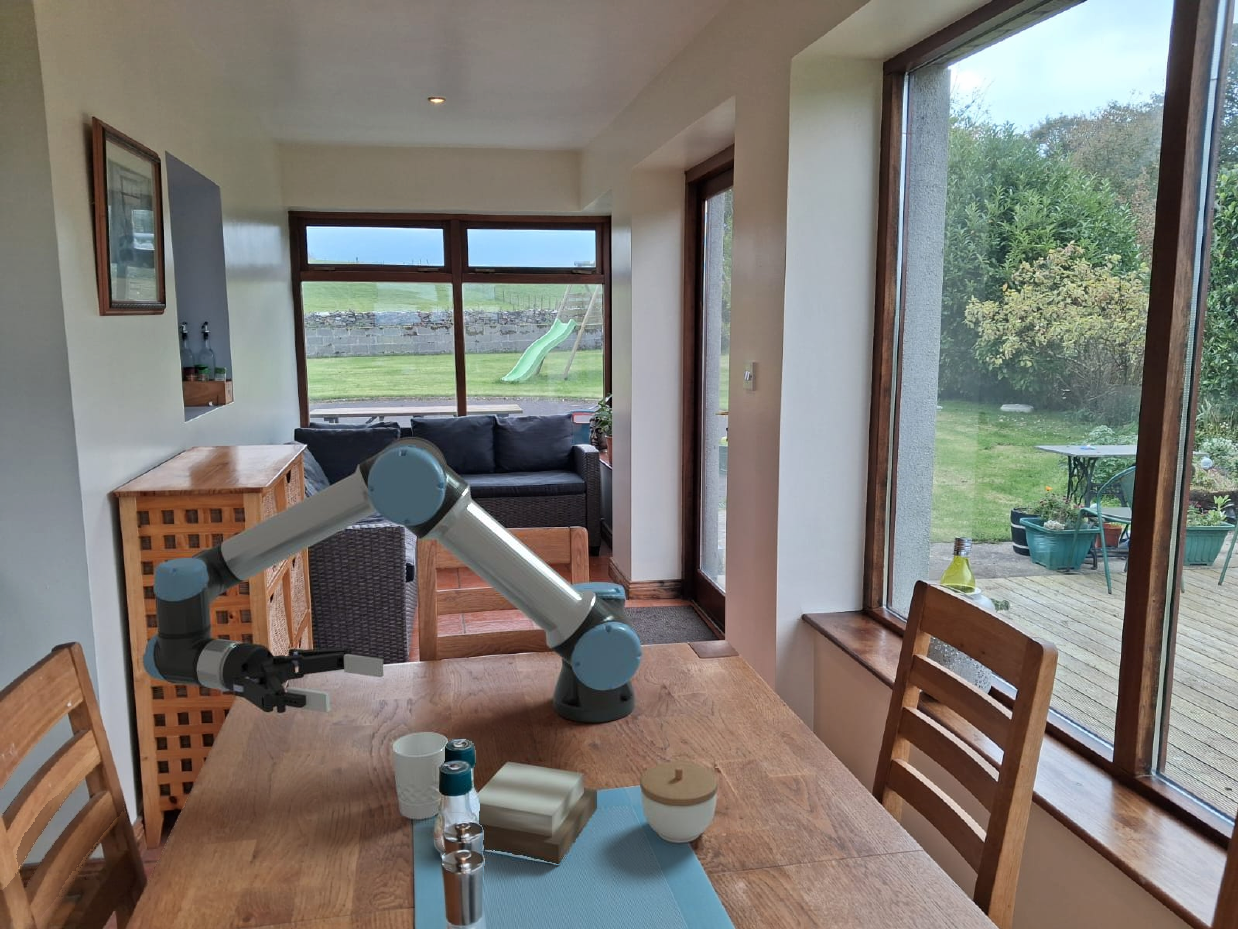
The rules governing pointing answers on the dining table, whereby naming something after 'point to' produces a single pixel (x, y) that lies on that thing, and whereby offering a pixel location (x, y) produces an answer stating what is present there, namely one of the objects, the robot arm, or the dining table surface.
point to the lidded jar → (678, 799)
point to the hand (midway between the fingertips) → (356, 684)
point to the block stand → (534, 811)
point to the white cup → (418, 773)
